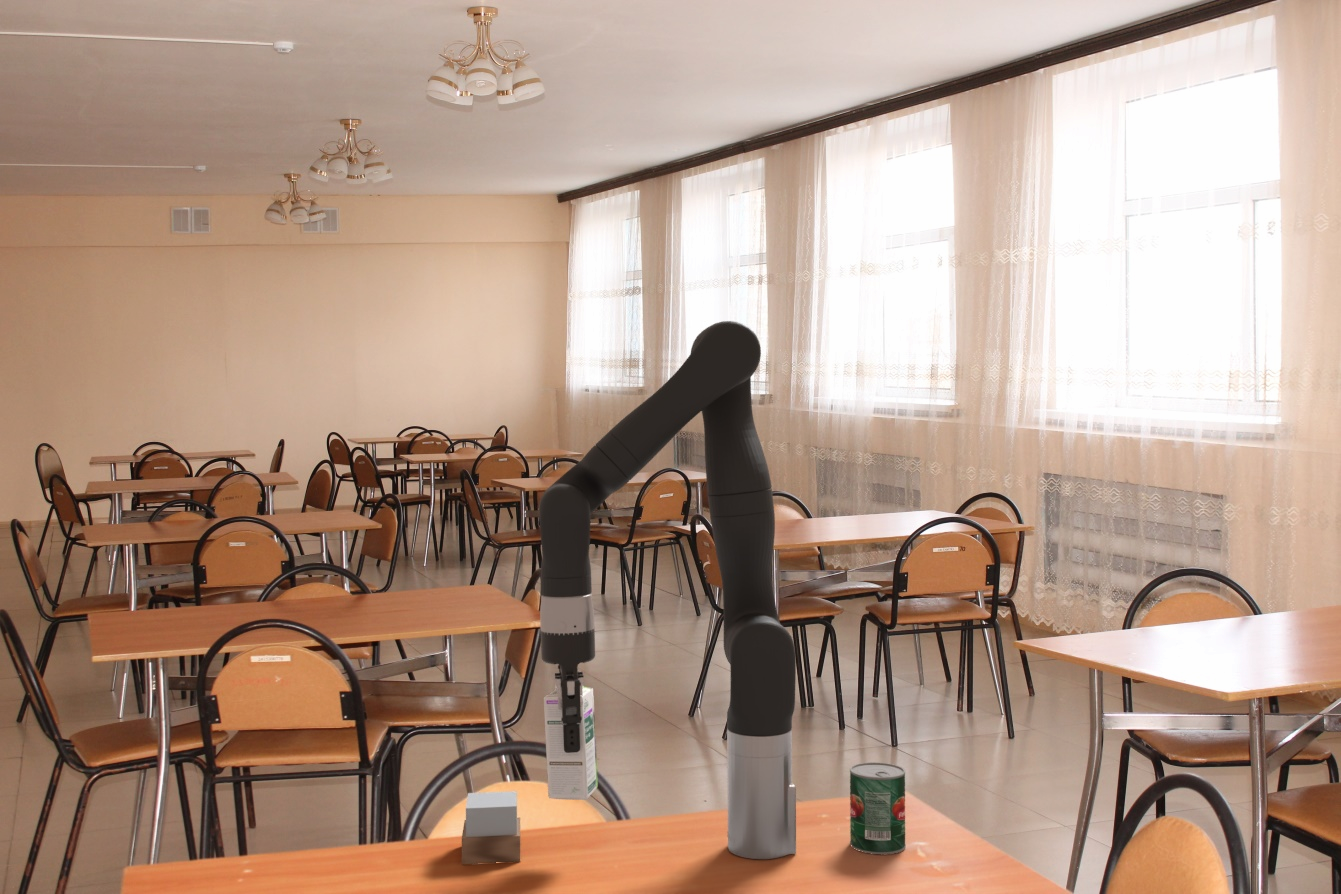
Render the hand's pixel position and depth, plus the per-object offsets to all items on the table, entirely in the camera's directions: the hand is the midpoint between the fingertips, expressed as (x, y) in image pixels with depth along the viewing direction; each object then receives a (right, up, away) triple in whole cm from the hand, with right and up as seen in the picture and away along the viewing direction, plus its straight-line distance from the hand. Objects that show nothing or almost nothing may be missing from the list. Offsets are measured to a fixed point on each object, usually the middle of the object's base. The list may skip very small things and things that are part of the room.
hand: (571, 744), depth 167 cm
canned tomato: (+44, -16, +5) cm, 47 cm away
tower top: (-11, -12, +3) cm, 17 cm away
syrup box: (0, -7, 0) cm, 7 cm away
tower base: (-11, -16, +3) cm, 20 cm away
